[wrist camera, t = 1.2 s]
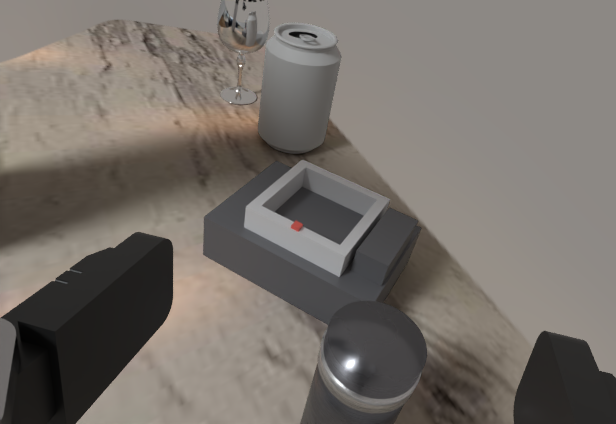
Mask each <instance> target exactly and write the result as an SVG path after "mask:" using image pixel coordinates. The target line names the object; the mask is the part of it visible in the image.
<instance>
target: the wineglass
mask: <svg viewBox="0 0 616 424" xmlns="http://www.w3.org/2000/svg"><path fill="white" fill-rule="evenodd" d="M217 28H218V35H219V38H220V40H221V42H222V43H223V45H224V46H226V47H227V48H228V49H230V50H232V51H234V52H236V53H239V55H238V57H237V65H238V83H237V86H236V87H229V88H226V89H224V90H222V91H221V93H220V96H221V98H222V99H223V100H225V101H227V102H229V103H232V104H238V105H246V104H251V103H253V102H255V101H256V99H257V96H256V94H255V93H254V92H253V91H251V90H249V89H246V88H242V84H241V83H242V71H243V67H244V65H245V56H244V54H249V53H253V52H256V51H258V50H260V49H261V48H262V47H263V46H264V44H265V43H266V40H267V37H268V33H269V10H268V1H267V0H221V4H220V8H219V13H218V22H217Z"/></svg>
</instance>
